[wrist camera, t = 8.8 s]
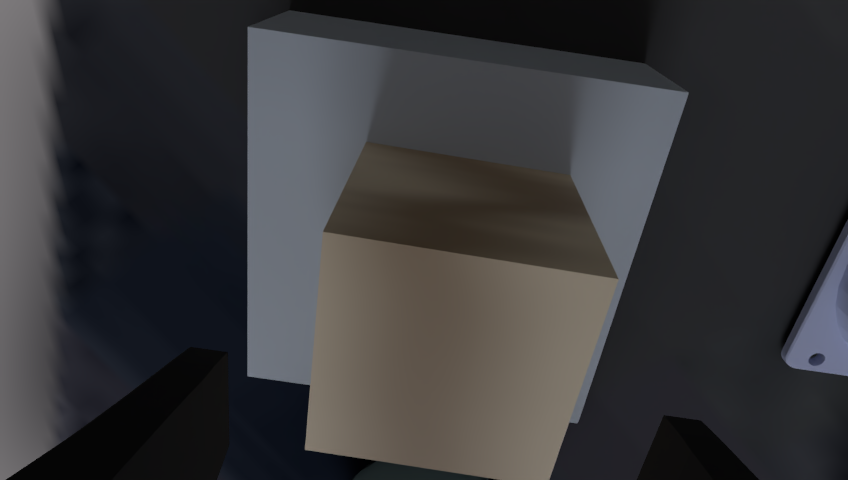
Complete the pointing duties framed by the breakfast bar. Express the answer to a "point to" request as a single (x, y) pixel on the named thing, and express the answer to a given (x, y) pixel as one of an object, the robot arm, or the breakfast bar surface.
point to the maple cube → (454, 314)
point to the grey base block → (428, 146)
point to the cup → (407, 473)
